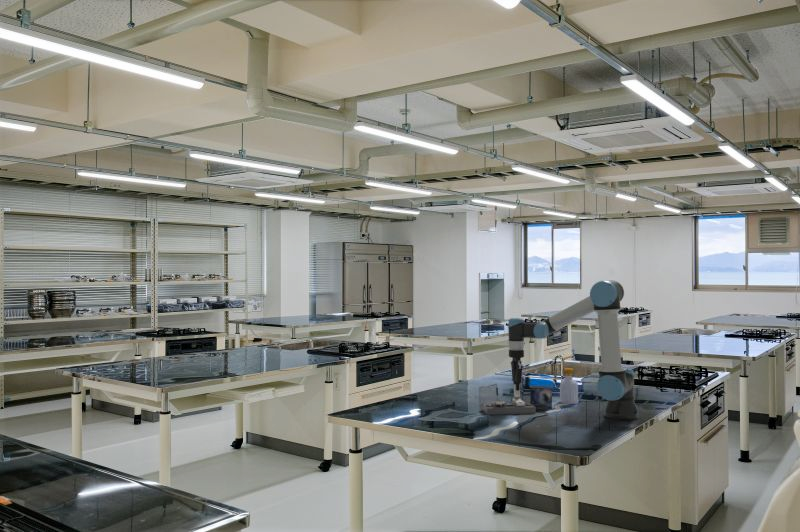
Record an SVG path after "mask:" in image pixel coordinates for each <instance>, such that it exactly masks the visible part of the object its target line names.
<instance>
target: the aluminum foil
mask: <svg viewBox="0 0 800 532" xmlns="http://www.w3.org/2000/svg"><path fill="white" fill-rule="evenodd" d="M590 377H591V378H597V379H599V373H593V372H592V373H591V374H590Z"/></svg>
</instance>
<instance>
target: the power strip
mask: <svg viewBox="0 0 800 532" xmlns="http://www.w3.org/2000/svg"><path fill="white" fill-rule="evenodd" d="M522 401H523V402H524V403H525V406H517V405H516V403H515V402H513V400H511V402H510V403H509V402H507V403H506V402H505V401H504V404H495V403H494V402H493V401H491V403H482V409H481V410H482V411H483V412H484V413H485V414H486V415H488V414H492V415H517V414H520V415H522V414H523V415H525V414H537V410H549V408H548V407H537V408H536V407H535V406H533V405H532V404H530V402H525V401H524V400H522Z"/></svg>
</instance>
